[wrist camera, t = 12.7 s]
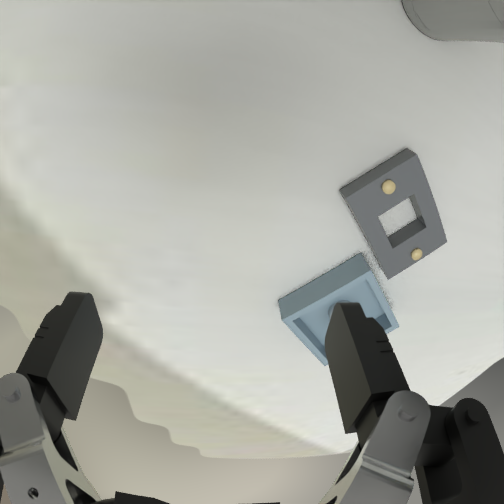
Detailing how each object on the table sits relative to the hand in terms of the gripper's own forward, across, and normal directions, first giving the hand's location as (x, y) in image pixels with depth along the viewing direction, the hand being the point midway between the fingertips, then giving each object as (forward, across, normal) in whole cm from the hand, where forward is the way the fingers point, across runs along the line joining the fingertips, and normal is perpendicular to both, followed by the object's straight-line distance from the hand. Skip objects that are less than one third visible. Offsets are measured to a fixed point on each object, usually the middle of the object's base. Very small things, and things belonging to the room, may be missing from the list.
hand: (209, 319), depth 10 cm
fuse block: (+26, -21, +7) cm, 35 cm away
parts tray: (+26, -17, +22) cm, 38 cm away
